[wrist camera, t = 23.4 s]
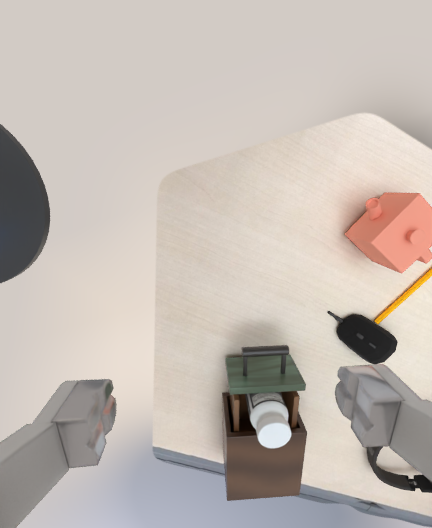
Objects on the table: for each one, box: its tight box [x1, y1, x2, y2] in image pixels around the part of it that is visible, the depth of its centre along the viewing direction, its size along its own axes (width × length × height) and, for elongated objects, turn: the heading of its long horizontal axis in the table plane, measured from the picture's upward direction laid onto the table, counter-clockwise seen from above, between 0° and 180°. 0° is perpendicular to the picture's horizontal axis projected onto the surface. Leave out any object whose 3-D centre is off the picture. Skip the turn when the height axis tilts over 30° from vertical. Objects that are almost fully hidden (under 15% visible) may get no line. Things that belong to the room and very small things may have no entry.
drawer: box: [226, 345, 306, 433], centre depth 40 cm, size 18×11×7 cm, turn 1°
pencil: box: [374, 269, 432, 324], centre depth 40 cm, size 1×18×1 cm, turn 140°
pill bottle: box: [245, 392, 291, 448], centre depth 38 cm, size 6×6×10 cm
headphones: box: [367, 446, 432, 493], centre depth 49 cm, size 17×8×20 cm
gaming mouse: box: [328, 311, 397, 364], centre depth 41 cm, size 6×15×4 cm, turn 55°
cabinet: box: [222, 393, 307, 501], centre depth 44 cm, size 15×13×9 cm
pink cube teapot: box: [344, 193, 432, 273], centre depth 33 cm, size 8×12×8 cm, turn 50°
